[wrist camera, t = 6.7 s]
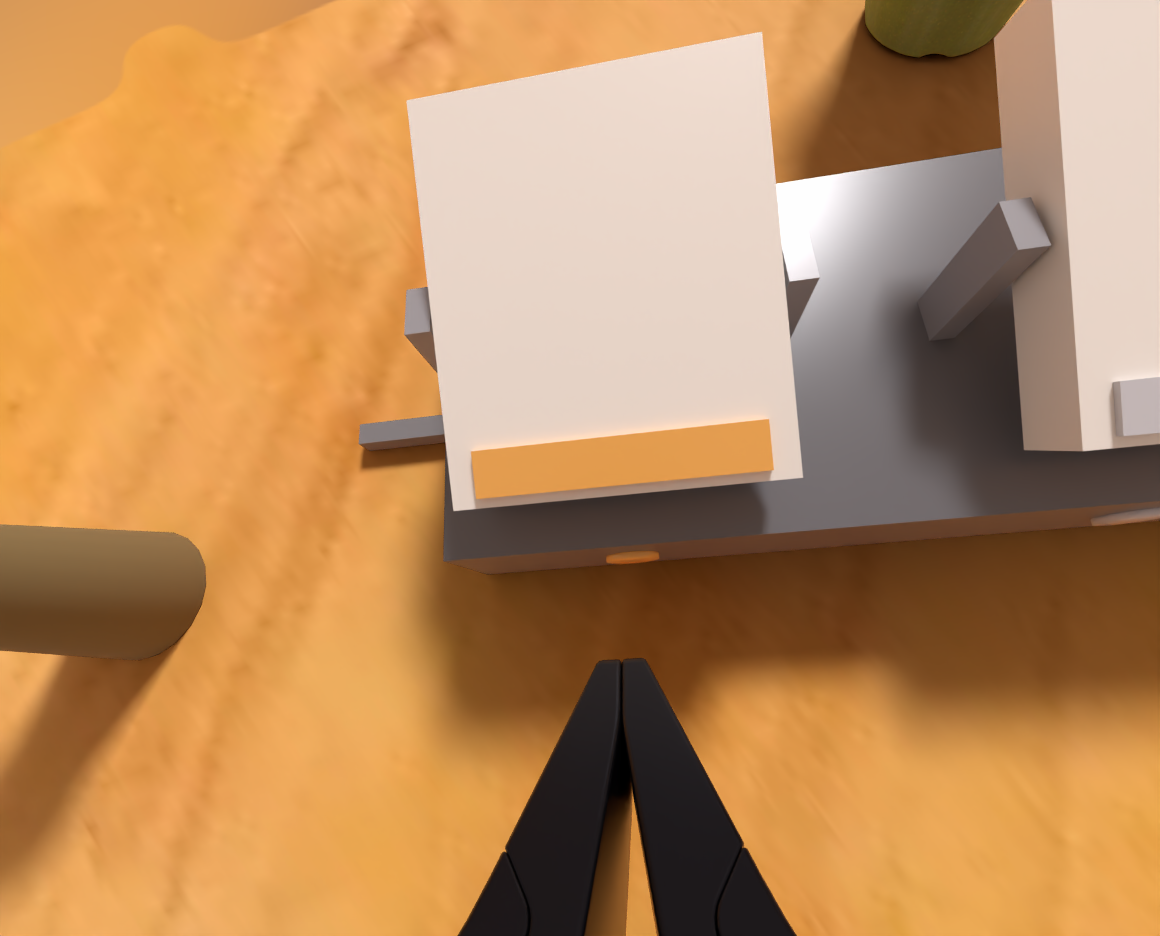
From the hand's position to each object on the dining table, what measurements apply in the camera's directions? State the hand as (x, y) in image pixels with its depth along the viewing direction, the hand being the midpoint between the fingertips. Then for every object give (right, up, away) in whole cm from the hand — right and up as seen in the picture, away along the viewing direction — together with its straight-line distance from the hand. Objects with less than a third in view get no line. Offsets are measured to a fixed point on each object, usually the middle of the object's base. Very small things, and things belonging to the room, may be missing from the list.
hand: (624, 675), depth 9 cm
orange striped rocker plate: (0, +9, +7) cm, 12 cm away
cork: (-22, -3, +16) cm, 27 cm away
